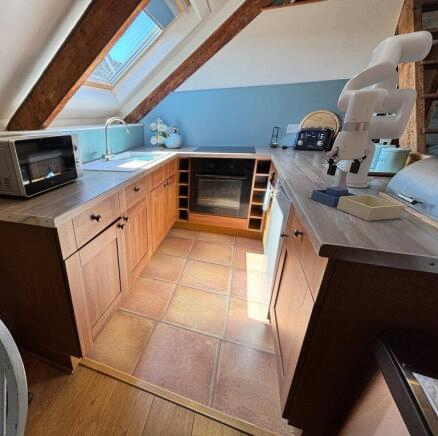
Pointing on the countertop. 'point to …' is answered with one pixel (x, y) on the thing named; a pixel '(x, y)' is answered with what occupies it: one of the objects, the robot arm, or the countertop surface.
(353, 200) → the cream bin
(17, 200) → the countertop surface
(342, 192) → the blue block
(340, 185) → the flask
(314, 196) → the blue bin
